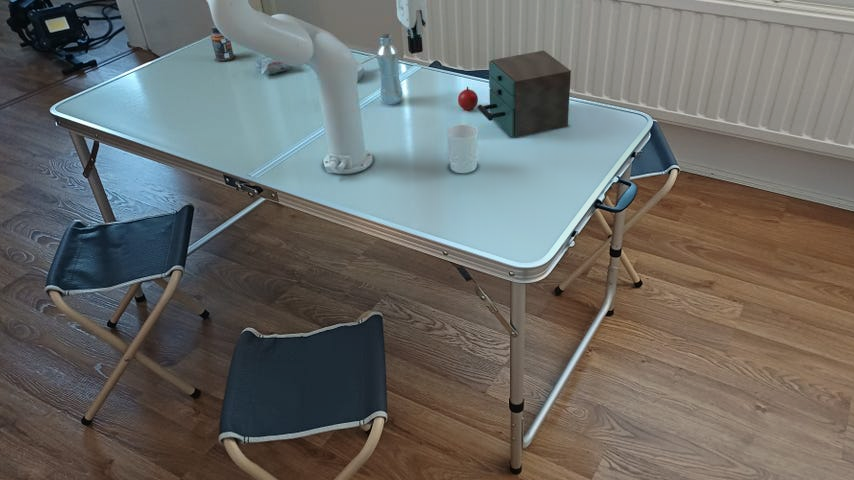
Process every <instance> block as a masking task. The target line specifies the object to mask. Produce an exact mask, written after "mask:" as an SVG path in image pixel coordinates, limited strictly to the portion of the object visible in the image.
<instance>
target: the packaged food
mask: <svg viewBox="0 0 854 480" xmlns="http://www.w3.org/2000/svg"><path fill="white" fill-rule="evenodd" d="M295 67H296V66H289V65H286V64H283V63H281V62H279V61H277V60H274V59H272V58H269V57H267V56H263V57H261V58H258V59H257V60H256V62H255V65H254V69H257V68H258V70H260V71H261V72H260V75H261V76H262V75H267V76H270V75H275V74H279V73H283V72H287V71H289V70H292V69H293V68H295Z"/></svg>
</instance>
